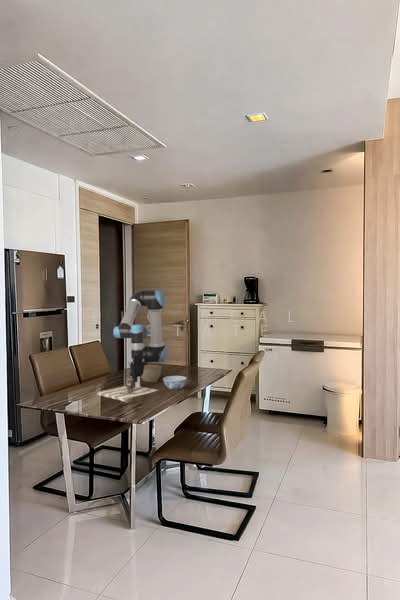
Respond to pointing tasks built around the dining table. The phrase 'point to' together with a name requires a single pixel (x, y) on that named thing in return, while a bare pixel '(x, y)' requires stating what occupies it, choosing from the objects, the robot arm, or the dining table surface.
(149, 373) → the planter bowl
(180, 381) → the chinaware
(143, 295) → the robot arm
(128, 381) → the gauge needle
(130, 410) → the dining table surface
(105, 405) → the dining table surface
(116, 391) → the gauge board
